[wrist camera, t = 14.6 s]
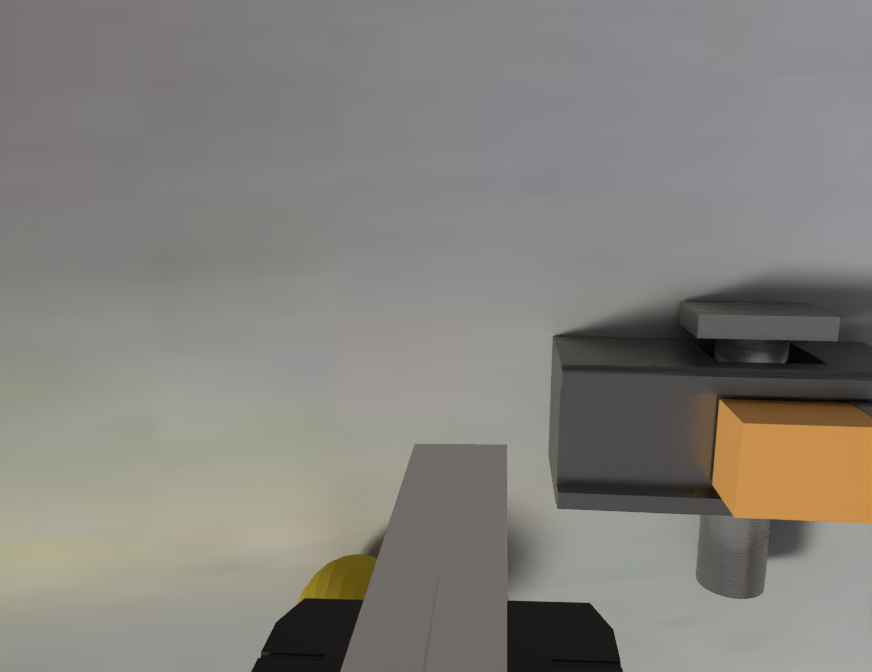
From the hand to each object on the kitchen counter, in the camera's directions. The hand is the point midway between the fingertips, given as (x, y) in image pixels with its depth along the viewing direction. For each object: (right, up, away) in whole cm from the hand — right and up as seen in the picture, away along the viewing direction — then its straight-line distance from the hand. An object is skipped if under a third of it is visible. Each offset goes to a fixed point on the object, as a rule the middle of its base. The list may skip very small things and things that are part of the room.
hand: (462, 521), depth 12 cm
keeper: (+14, -1, +17) cm, 22 cm away
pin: (+14, -2, +23) cm, 27 cm away
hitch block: (+12, 0, +23) cm, 26 cm away
